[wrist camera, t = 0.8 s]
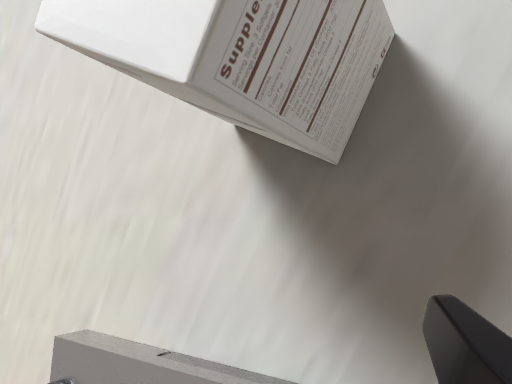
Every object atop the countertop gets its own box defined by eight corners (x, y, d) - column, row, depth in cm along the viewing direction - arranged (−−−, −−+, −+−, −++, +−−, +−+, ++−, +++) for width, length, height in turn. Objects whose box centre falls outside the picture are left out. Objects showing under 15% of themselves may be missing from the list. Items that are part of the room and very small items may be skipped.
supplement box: (229, 125, 25) (23, 28, 14) (280, 4, 24) (104, -199, 13) (339, 171, 21) (180, 91, 10) (403, 31, 21) (305, -216, 10)
